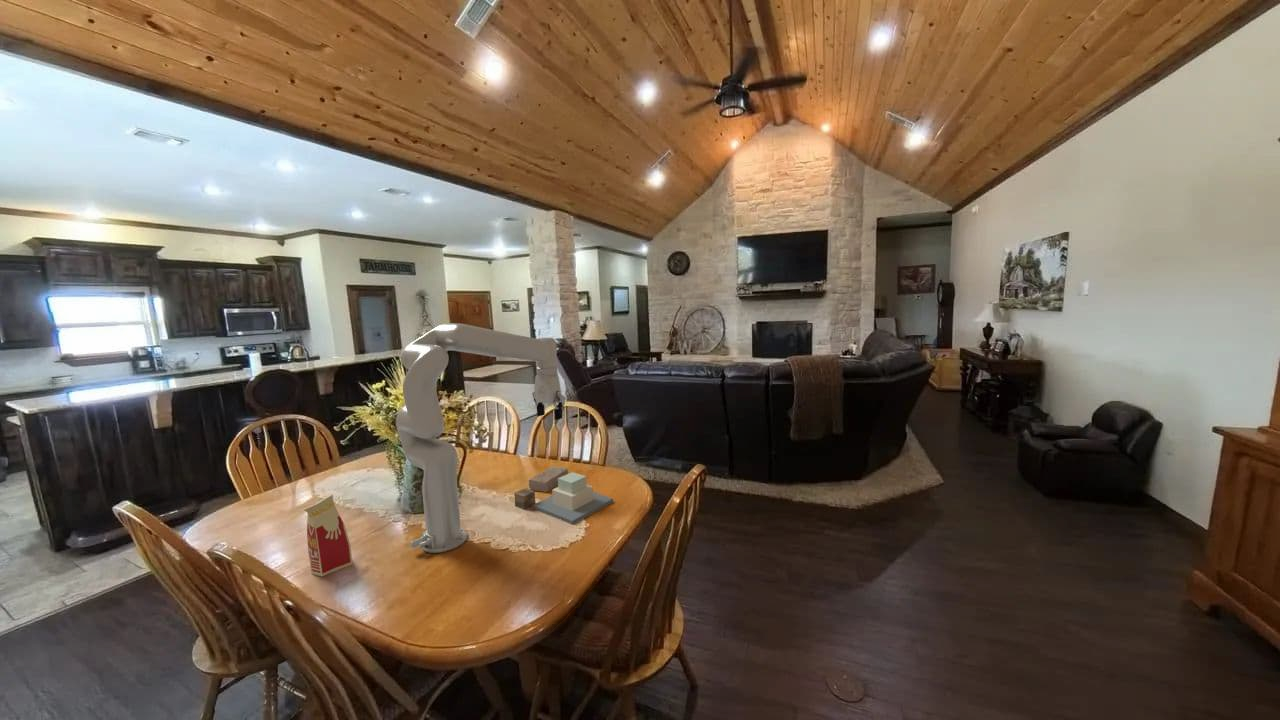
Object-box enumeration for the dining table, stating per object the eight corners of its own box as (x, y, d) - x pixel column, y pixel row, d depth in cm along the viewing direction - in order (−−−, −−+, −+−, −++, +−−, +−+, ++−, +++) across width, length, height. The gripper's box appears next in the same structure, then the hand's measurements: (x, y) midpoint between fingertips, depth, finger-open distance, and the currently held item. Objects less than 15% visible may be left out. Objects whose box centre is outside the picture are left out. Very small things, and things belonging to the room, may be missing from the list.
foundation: (572, 524, 144) (571, 506, 144) (532, 508, 157) (531, 491, 156) (613, 501, 160) (612, 485, 159) (574, 488, 172) (573, 473, 171)
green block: (572, 494, 153) (571, 482, 152) (558, 489, 157) (557, 478, 156) (586, 487, 158) (586, 476, 158) (572, 482, 162) (572, 472, 162)
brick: (552, 475, 187) (551, 464, 187) (569, 477, 184) (569, 466, 183) (528, 491, 172) (527, 479, 171) (546, 494, 169) (545, 482, 168)
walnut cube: (524, 510, 156) (523, 496, 155) (515, 506, 159) (514, 492, 158) (535, 504, 160) (534, 491, 159) (526, 501, 163) (525, 488, 162)
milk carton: (342, 552, 131) (335, 487, 129) (354, 563, 125) (346, 495, 123) (305, 567, 124) (296, 498, 122) (315, 579, 118) (306, 508, 116)
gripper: (523, 371, 166) (526, 416, 168) (555, 375, 155) (557, 423, 157) (539, 368, 171) (542, 412, 174) (571, 372, 161) (573, 418, 163)
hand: (549, 417), depth 166 cm, fingers open, 9 cm apart
